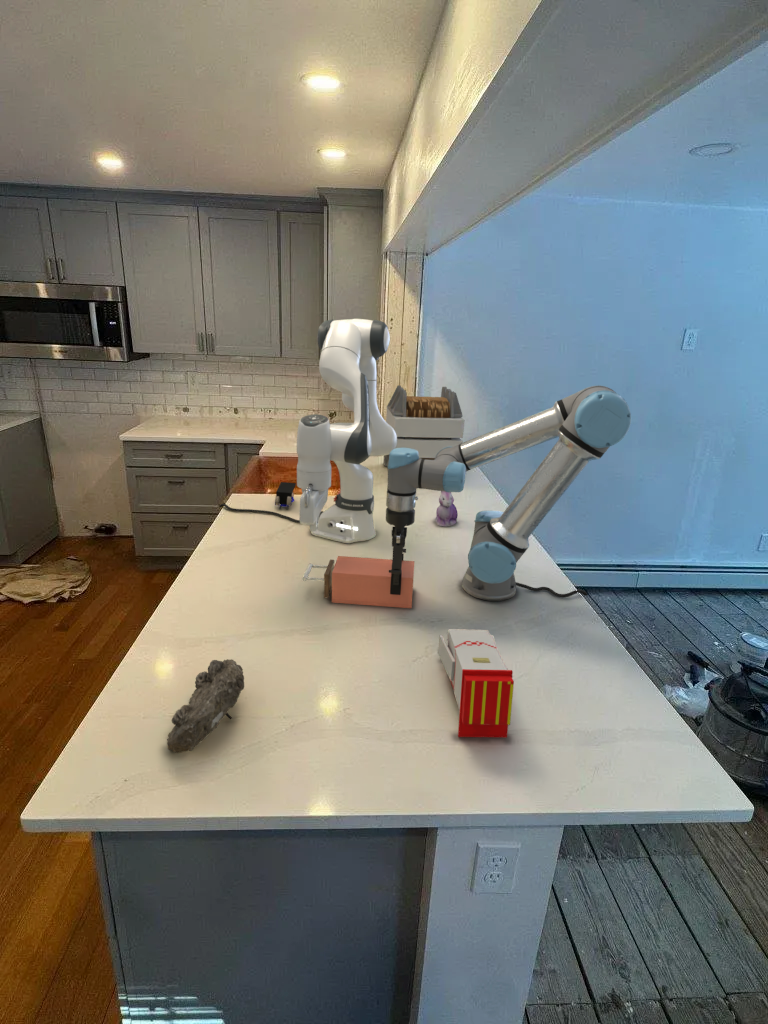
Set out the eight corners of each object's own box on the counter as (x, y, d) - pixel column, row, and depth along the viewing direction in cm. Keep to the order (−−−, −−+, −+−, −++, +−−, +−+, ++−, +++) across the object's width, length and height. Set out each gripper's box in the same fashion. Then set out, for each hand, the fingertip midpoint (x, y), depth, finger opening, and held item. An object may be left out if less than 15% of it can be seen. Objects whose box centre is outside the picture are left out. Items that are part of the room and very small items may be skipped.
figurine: (442, 528, 206) (446, 489, 201) (428, 519, 214) (431, 481, 209) (464, 525, 210) (468, 486, 205) (449, 516, 218) (452, 479, 213)
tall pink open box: (331, 602, 152) (331, 572, 149) (337, 584, 162) (338, 555, 159) (411, 608, 151) (413, 578, 148) (412, 589, 161) (414, 561, 158)
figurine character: (292, 514, 217) (296, 498, 230) (291, 496, 214) (296, 480, 227) (274, 514, 217) (280, 497, 230) (273, 496, 213) (279, 480, 227)
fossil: (192, 660, 117) (244, 628, 112) (224, 691, 120) (276, 661, 115) (142, 746, 98) (202, 712, 93) (182, 779, 101) (242, 748, 96)
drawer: (301, 595, 152) (301, 572, 150) (308, 580, 161) (308, 557, 159) (398, 603, 151) (400, 579, 149) (400, 586, 160) (401, 564, 158)
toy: (488, 613, 130) (523, 677, 101) (484, 667, 133) (517, 744, 104) (435, 612, 130) (455, 676, 101) (432, 666, 133) (451, 743, 103)
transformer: (382, 463, 289) (386, 382, 275) (445, 464, 293) (451, 384, 279) (390, 482, 257) (394, 392, 243) (460, 483, 261) (468, 394, 247)
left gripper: (318, 491, 136) (318, 544, 141) (332, 470, 155) (331, 517, 160) (292, 490, 136) (293, 543, 141) (309, 468, 156) (309, 516, 160)
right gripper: (414, 524, 136) (408, 605, 143) (416, 495, 158) (411, 566, 165) (382, 522, 136) (379, 603, 144) (389, 493, 158) (385, 565, 166)
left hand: (313, 529), depth 151 cm, fingers closed
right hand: (396, 584), depth 154 cm, fingers closed on tall pink open box, 11 cm apart
